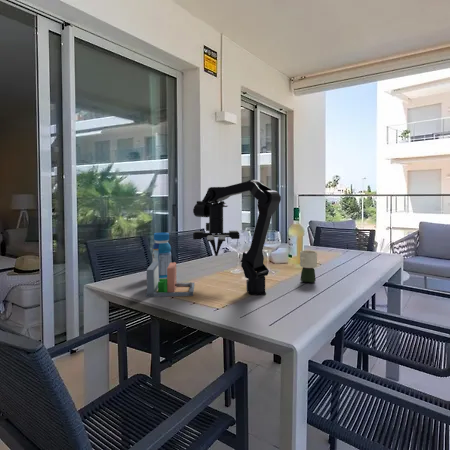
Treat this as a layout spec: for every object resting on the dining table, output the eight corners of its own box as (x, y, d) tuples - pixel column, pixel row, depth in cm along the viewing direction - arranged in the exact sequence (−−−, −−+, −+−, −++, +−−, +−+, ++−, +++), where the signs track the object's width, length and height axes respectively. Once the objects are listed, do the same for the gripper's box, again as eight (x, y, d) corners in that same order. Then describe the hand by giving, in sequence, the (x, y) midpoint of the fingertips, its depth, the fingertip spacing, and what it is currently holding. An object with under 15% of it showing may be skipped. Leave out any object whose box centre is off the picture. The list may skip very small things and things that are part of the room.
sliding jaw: (192, 285, 146) (192, 262, 145) (191, 293, 135) (191, 268, 134) (170, 286, 145) (170, 262, 144) (167, 294, 134) (166, 268, 134)
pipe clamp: (160, 288, 145) (160, 277, 144) (170, 288, 145) (170, 276, 144) (157, 296, 133) (156, 283, 133) (167, 295, 134) (167, 283, 133)
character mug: (308, 278, 159) (308, 249, 158) (322, 281, 154) (323, 251, 153) (293, 282, 152) (293, 252, 151) (307, 285, 147) (308, 254, 146)
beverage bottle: (167, 280, 156) (167, 234, 154) (149, 279, 158) (148, 234, 156) (174, 275, 165) (173, 232, 163) (157, 274, 166) (156, 231, 164)
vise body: (194, 285, 148) (194, 261, 147) (192, 295, 133) (192, 269, 132) (152, 285, 147) (151, 261, 146) (145, 296, 132) (145, 269, 131)
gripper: (237, 216, 155) (237, 252, 157) (194, 216, 154) (194, 252, 156) (239, 218, 144) (239, 256, 146) (192, 218, 143) (193, 257, 145)
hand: (216, 255), depth 148 cm, fingers closed
